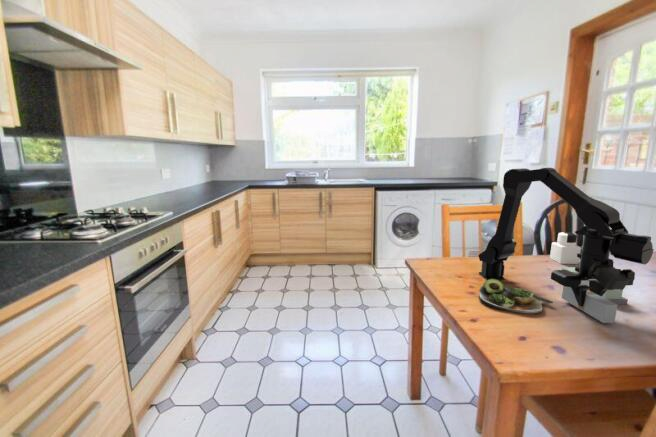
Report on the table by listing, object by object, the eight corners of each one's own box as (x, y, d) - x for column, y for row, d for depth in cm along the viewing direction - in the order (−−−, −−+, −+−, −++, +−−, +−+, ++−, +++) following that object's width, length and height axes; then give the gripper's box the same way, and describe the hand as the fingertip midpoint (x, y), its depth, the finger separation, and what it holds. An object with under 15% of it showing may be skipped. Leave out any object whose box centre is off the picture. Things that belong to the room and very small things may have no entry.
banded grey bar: (602, 322, 80) (606, 305, 79) (561, 298, 94) (563, 282, 93) (614, 322, 80) (617, 304, 79) (571, 297, 94) (573, 282, 93)
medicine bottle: (567, 258, 131) (571, 231, 129) (578, 264, 124) (583, 235, 122) (549, 258, 132) (553, 231, 129) (559, 264, 125) (564, 235, 122)
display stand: (600, 304, 91) (603, 289, 90) (555, 280, 109) (557, 267, 108) (626, 304, 91) (629, 288, 90) (577, 280, 109) (579, 266, 108)
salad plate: (548, 296, 98) (550, 283, 97) (556, 323, 83) (558, 307, 82) (481, 285, 107) (482, 272, 106) (476, 307, 92) (478, 292, 91)
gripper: (586, 264, 76) (577, 322, 79) (661, 262, 76) (648, 320, 79) (552, 250, 86) (545, 301, 90) (618, 248, 87) (608, 299, 90)
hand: (586, 305), depth 87 cm, fingers closed on banded grey bar, 3 cm apart
